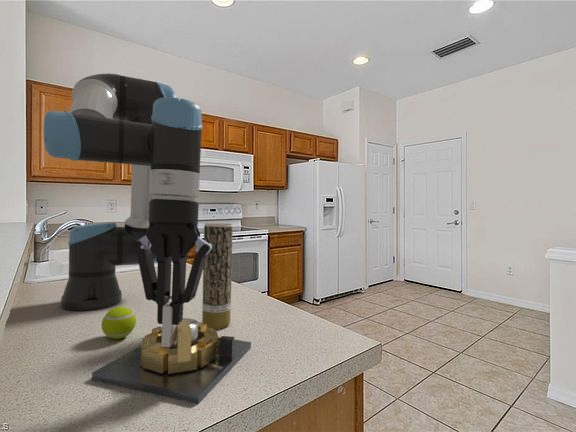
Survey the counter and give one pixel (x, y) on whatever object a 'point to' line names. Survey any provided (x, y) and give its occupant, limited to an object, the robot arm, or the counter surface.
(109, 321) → the tennis ball
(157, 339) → the ring nut
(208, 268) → the bark textured cylinder
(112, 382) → the housing
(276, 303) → the counter surface
